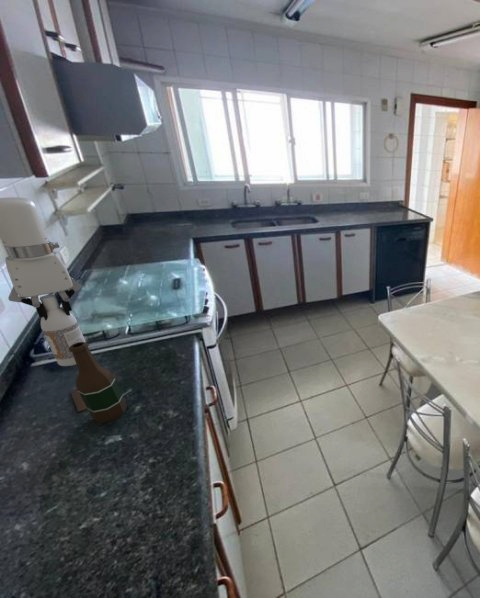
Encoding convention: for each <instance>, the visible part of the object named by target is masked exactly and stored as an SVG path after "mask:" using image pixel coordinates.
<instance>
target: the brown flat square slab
mask: <svg viewBox="0 0 480 598" xmlns="http://www.w3.org/2000/svg"><path fill="white" fill-rule="evenodd" d="M113 376H114V377H115V379H116V380H117V375H113ZM70 395H71V398H72V399H73V403H74V405H75V408H76V410H77V412H78V413H81V412H84V411H86V410H88V409H87V407H86V405H85V403H84V401H83V399H82V397H81V395H80V394H79V392H78V389H77V388H76V389H74V390H72V391H70Z"/></svg>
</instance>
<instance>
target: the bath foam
mask: <svg viewBox="0 0 480 598" xmlns="http://www.w3.org/2000/svg"><path fill="white" fill-rule="evenodd" d="M39 301H40V302H41V304H42V305H43V306H44V309H45V311H46V314H47V316H48V318H47V320H46V321H45V319H44V317H40V329H41V331H42V334H43V336H44V338H45V339H46V342H47V343H48V344H47V345H48V346H49V348H50V350H51V353H52V355H53V358H54V359H55V361H56V363H57V365H59V366H61V367H70V366H71V367H72V366H75V365H76V366H77V364H76V362H75V359H74V356H73V354H72V352H70V351H69V347H70V346H71V345H73V344H75V343H78V342H86V339H85V336H84V334H83V332H82V329H81V327H80V325H79V322H78V320H77V318H76V317H75V316H74V315H73V314H72V313H71V311H69V313H70V315H66V313H65V311H64V309H63V307H61V306H60V303H59V300H58V298H57V296H56V295H55V294H44V295H41V296H40V297H39ZM86 343H87V342H86Z"/></svg>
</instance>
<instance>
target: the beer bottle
mask: <svg viewBox="0 0 480 598" xmlns="http://www.w3.org/2000/svg"><path fill="white" fill-rule="evenodd" d="M69 351H70V352H72V354H73V356H74V359H75V362H76V367H77V370H78V375H77V377H76V380H75V386H76V390H77V389H78V392H79V394H80V395H81V397H82V399H83V401H84V403H85V405H86V407H87V409H86V410H88V413H89V414H90V417H91V418H92V419H93V420H94V421H95V422H98V423H99V424H102V423H108V422H112V421H114V420H116V419H117V418H119V417H120V416H122V415H124V414H125V412H126V410H127V408H128V405H127V402H126V399H125V397H124V395H123V392H122V390H121V388H120V386H119V384H118V382H117V378H116V379H115V377H114V376H115V375H114V373H113V372H111V371H110V370H109V369H107V368H105V367H103V366H101V365H100V364H99V363H98V361H97V360H96V358H95V356H94V355H93V353H92V351H91V350H90V345H89V344H88V342H78V343H75V344H73V345H71V346H70V347H69Z"/></svg>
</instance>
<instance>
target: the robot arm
mask: <svg viewBox="0 0 480 598" xmlns="http://www.w3.org/2000/svg"><path fill="white" fill-rule="evenodd" d="M0 240H1V242H2V245H3V246H4V248H5V251H6V253H7V256H6V257H5V258H4V261H5V266H6V270H7V273H8V275H9V278H10V281H11V284H12V288H11V290H10V293H9V295H8V297H7V298H8V301H9V302H13V303H22V304H25V305H28V306H31V307H33V308H35V310H36V312H37V315H38V316H39V318H42V317H44V319H45V321H46V320H47V318H48V316H47V314H46V311H45V309H44V306H43V305H42V302H41V301H40V297H39V296H45V295H51V294H54V293H58V294H59V296H60V300H59V301H60V303H61V306H62V308H63V309H64V311H65V313H66V315H70V313H71V312H72V311H73V309H72V306H71V303H70V302H69V301H70V299H71V298H72V297H73V296H74V294H75V293H77V292H78V291H79V290H81V289H82V288H83V285H82V284H81V283H80V282H78V281H77V280H76V279H74V278H73V277H72V276H70V273H69V271H68V268H67V267H66V264H65V263H64V261H63V258H62V257H61V256H60V254H59V253H58V252H57V251H55V249H58V248H61V247H60V244H59V242H57V241H56V242H54V241H53V242H52V241H50V240H49V238H48V234H47V232H46V230H45V227H44V224H43V222H42V219H41V216H40V213H39V210H38V209H37V206H36V204H35V202H34V201H32V200H31V199H29V198H27V197H20V196H19V197H17V196H16V197H15V196H13V197H10V196H8V197H0ZM69 312H70V313H69Z"/></svg>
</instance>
